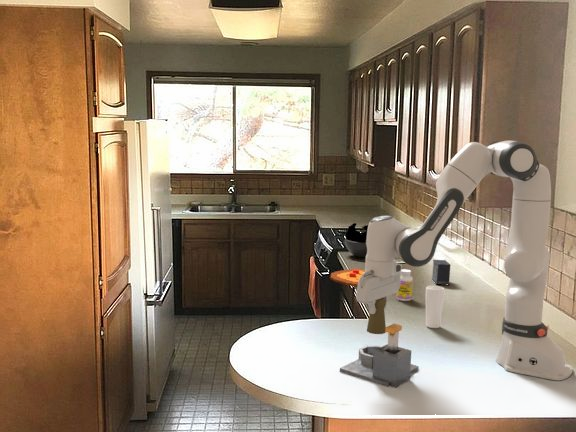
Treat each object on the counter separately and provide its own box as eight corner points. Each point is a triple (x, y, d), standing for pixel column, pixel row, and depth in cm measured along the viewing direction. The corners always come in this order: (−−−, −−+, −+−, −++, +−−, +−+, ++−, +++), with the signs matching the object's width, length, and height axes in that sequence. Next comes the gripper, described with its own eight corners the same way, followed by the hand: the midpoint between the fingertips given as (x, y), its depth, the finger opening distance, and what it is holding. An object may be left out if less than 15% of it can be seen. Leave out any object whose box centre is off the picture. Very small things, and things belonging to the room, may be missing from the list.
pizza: (394, 273, 323) (394, 268, 323) (398, 289, 292) (398, 283, 291) (332, 270, 327) (332, 265, 326) (329, 285, 295) (329, 279, 295)
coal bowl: (384, 260, 354) (385, 227, 351) (350, 260, 350) (351, 227, 347) (372, 252, 373) (373, 221, 371) (339, 253, 369) (340, 222, 366)
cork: (373, 326, 201) (374, 293, 199) (389, 330, 197) (391, 296, 196) (362, 331, 196) (364, 297, 195) (379, 335, 193) (381, 300, 191)
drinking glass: (427, 322, 241) (429, 284, 239) (444, 325, 238) (446, 287, 236) (421, 327, 235) (423, 288, 233) (438, 330, 232) (441, 291, 230)
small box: (450, 285, 299) (451, 264, 298) (436, 285, 299) (437, 264, 298) (444, 280, 310) (445, 259, 308) (431, 280, 310) (432, 259, 308)
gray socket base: (424, 371, 193) (425, 342, 192) (394, 388, 179) (395, 358, 178) (370, 355, 205) (371, 328, 204) (338, 370, 191) (339, 342, 190)
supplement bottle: (395, 300, 271) (397, 271, 269) (396, 296, 277) (398, 268, 276) (411, 302, 269) (412, 272, 268) (412, 298, 276) (413, 269, 274)
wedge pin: (400, 356, 185) (402, 325, 184) (392, 360, 182) (394, 329, 180) (392, 353, 187) (393, 323, 186) (383, 358, 184) (385, 327, 182)
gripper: (370, 275, 184) (367, 321, 186) (404, 264, 200) (402, 306, 202) (352, 271, 188) (350, 316, 190) (387, 261, 204) (385, 303, 206)
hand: (377, 311), depth 196 cm, fingers closed on cork, 4 cm apart
